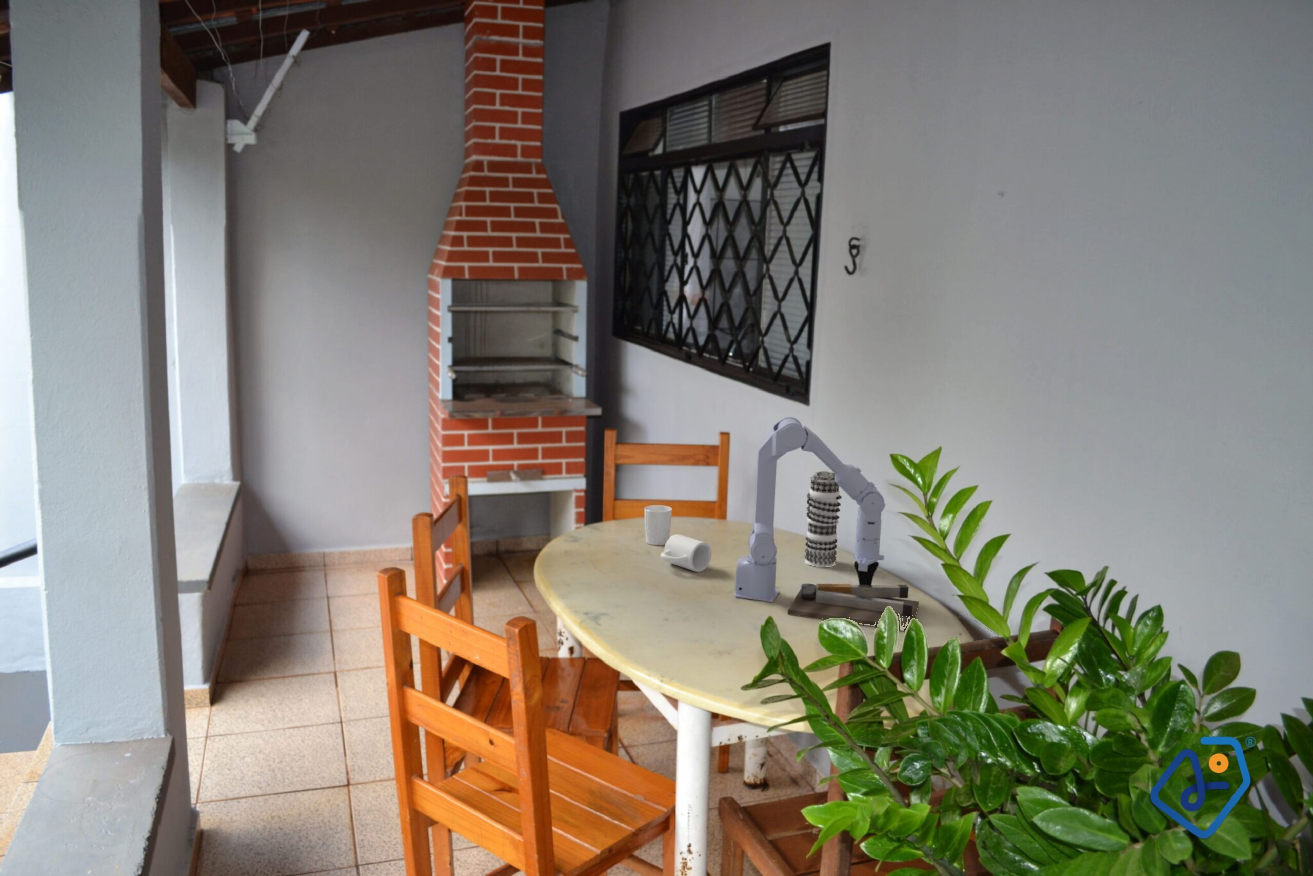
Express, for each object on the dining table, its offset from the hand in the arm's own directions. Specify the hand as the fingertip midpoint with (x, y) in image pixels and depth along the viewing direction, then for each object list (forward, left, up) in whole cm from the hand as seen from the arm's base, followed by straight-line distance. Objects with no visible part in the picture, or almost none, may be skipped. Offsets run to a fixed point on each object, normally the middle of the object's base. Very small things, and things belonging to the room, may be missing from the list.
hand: (864, 591), depth 237 cm
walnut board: (-1, -9, -2) cm, 9 cm away
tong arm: (-2, -4, -1) cm, 5 cm away
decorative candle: (-15, +24, -2) cm, 29 cm away
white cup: (-62, +24, -2) cm, 67 cm away
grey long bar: (+1, -10, -1) cm, 10 cm away
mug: (-48, +4, -2) cm, 48 cm away
